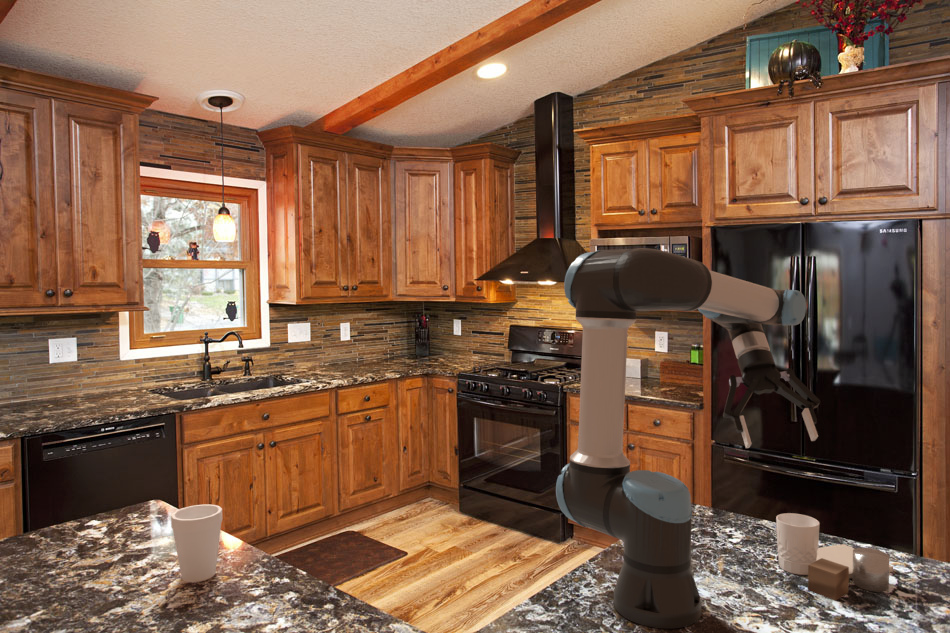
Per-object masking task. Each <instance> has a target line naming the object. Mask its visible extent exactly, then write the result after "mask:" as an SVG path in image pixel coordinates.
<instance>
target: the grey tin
mask: <svg viewBox="0 0 950 633" xmlns="http://www.w3.org/2000/svg"><path fill="white" fill-rule="evenodd" d="M889 565H890V556H889V554H888V553H886V552H884V551H882V550H879V549H875V548H870V547H856V548H854V549H853V573H852V578H851V579H852V581H851V582H852V584H853V585H855V586H856V587H858V588H860V589H863V590H865V591H870V592H877V593H879V592H880V593H882V592H887V591H889V589H890V572H889Z"/></svg>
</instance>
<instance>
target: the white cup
mask: <svg viewBox="0 0 950 633" xmlns="http://www.w3.org/2000/svg"><path fill="white" fill-rule="evenodd" d="M775 517H776V518H775V522H776V523H775V524H776V545H777V554H778V565H779V568H780V569H782V570H783V571H785V572H787V573H790V574H794V575H800V576H808V565H809V564H811V563H813V562H815V561H816V559H817V550H818V548H819V538H820V524H821V523H820V521H819V520H817V519H816V518H814V517H812V516H810V515H806V514H800V513H793V512H792V513H791V512H787V513H780V514H777V515H776V516H775Z"/></svg>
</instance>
